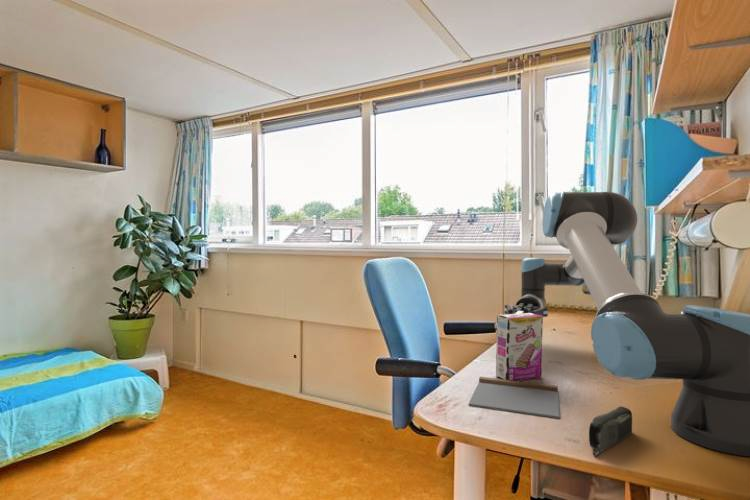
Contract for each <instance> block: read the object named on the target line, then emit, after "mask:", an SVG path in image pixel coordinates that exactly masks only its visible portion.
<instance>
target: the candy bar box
mask: <svg viewBox="0 0 750 500" xmlns="http://www.w3.org/2000/svg"><path fill="white" fill-rule="evenodd" d="M496 316H497V317H496V357H495V359H496V360H495V361H496V362H495V377H496V378H497V379H505V380H513V381H526V380H531V379H533V380H534V379H538V378H542V365H543V364H542V362H543V361H542V356H543V323H544V322H543V321H544V319H543V318H544V317H543V316H541V315H538V314H533V313H520V314H506V313H504V314H497V315H496Z"/></svg>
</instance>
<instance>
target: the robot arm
mask: <svg viewBox="0 0 750 500" xmlns="http://www.w3.org/2000/svg"><path fill="white" fill-rule="evenodd" d="M637 225H638V213H637V210H636V208H635V206H634V204H633V203H632V202H631V201H630V200H629V199H628V198H627V197H626V196H624V195H622V194H620V193H617V192H611V191H600V192H599V191H588V192H586V191H580V192H579V191H578V192H572V191H570V192H569V191H567V192H565V191H562V192H552V193H550V194H549V195H548V196H547V198H546V200H545V203H544V207H543V212H542V232H543V235H544V237H546V238H556V240H557V243H558V244H559V245H560V246H561V247H562V248H563V249H565V250H569V252H570V254H571V255H570V257H569V258H568V259H567V261H565V263H554V262H553V263H552V262H551V263H550V262H546V260H545V258H544V257H524V258H523V259H522V260H521V270H520V271H521V272H520V273H521V289H520V290H521V291H520V298H519V299H518V300H517V302H516V303H515V305H513V306H512V305H508V304H505V305H504V314H520V313H533V314H538V315H541V316H543V318H546V317H548V316H549V313H548V311H549V309H548V307H546V302H547V301H546V297H545V296H546V295H545V291H546V288H545V287H546V286H565V287H566V286H570V287H573V286H574V287H580V286H586V287H587V289H588V291H589V293H590V296H591V297H592V299H593V302H594V304H595V305H596V308H597V309H598V310H597V312H596V314H595V316H594V317H595V318H594V319H593V321H592V324H591V328H590V339H591V341H592V342H593V344H592V348H593V351H594V355H595V356H596V359H597V360H598V362H599V363H600V364H601V366H602V367H603V368H604V369H605V370H606V371H607V372H608V373H610V374H611V375H613V376H615V377H617V378H625V379H633V380H637V381H638V380H641V381H642V380H649V379H650V380H652V379H653V380H654V379H655V380H656V379H657V380H682V388H681V390H680V393H679V395H678V397H677V399H676V402H675V404H674V405H673V406H674V407H673V408H672V411H671V413H670V427H671V430H672V431H673V432H674V433H676V434H677V435H679V436H680V437H682V438H684V439H685V440H687V441H689V442H691V443H694V444H696V445H698V446H701V447H704V448H706V449H710V450H714V451H717V452H720V453H721V452H722V453H726V454H730V455H734V456H735V455H736V456H740V457H741V456H742V457H749V458H750V314H749V313H744V312H739V311H734V310H728V309H723V308H716V307H709V306H701V305H693V304H692V305H691V304H687V305H685V306H684V307H683V310H682V311H683V313H684V314H681V313H667V312H665V311H664V309H663V308H662V307H661V304H660V303H659V302H658V301H657V300H656V298H654V297H653V296H651V295H649V294H647V293H643V292H642V291H641V289H640V288H639V286H638V284H637V283H636V281H635V280H634V278H633V276H632V275H631V274H630V272H629V270H628V268H627V267H626V265H625V264H624V262H623V260H622V258H621V257H620V255H619V254H618V252H617V251H616V248H615V247H616V246H617V245H622V244H624V243H625V242H626V241H627V240H628V239H629V238H630V237H631V236H632V235H633V234H634V233H635V231H636V229H637Z"/></svg>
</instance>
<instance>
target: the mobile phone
mask: <svg viewBox="0 0 750 500" xmlns="http://www.w3.org/2000/svg"><path fill="white" fill-rule="evenodd" d="M632 431H633V414H632V411H631V410H630V409H629V408H627V407H624V406H618V407H617V408H615V409H612V410H610V411H608V412H606V413H603V414H600V415H598V416H595V417H594V418H593V419H592V421H591V422H590V424H589V430H588V442H589V446H590V447H591V448H592V449H594V451H593V452H592V455H593V456H594V457H598V455H600V453H602V452H603V451H605V450H607V449H608V448H610V447H613V446H614V445H616V444H617V443H619V442H621V441H623V440H624V439H626V438H628V437H629V436H631V434H632Z"/></svg>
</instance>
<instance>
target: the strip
mask: <svg viewBox="0 0 750 500" xmlns="http://www.w3.org/2000/svg"><path fill="white" fill-rule="evenodd" d="M479 382H484V383H492V384H500V385H508V386H516V387H524V388H533V389H541V390H549V391H557V392H558V393H559V391H558V390H559V389H558V388H559V386H558V385H554V384H546V383H538V382H531V381H530V382H528V381H523V380H519V381H513V380H505V379H499V378H498V377H496V378H495V377H487V376H479V378H478V383H479Z"/></svg>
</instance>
